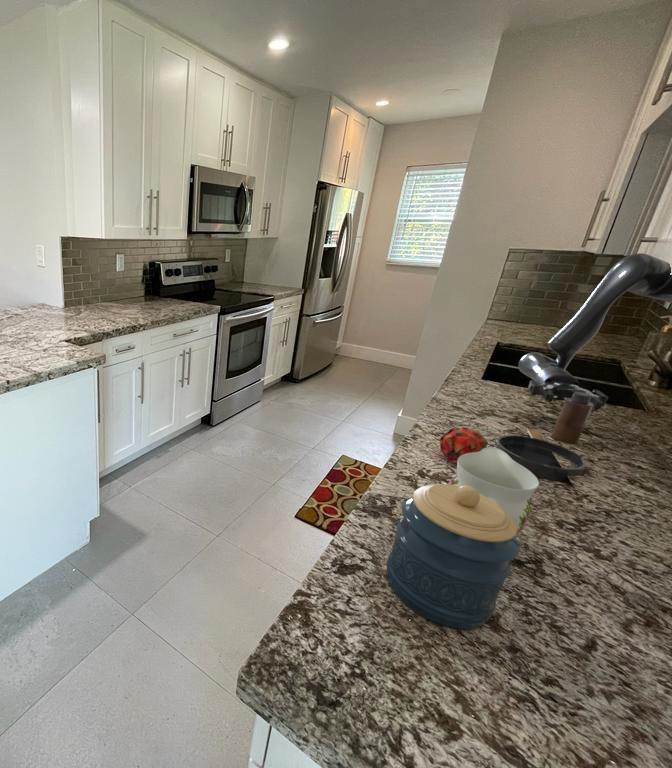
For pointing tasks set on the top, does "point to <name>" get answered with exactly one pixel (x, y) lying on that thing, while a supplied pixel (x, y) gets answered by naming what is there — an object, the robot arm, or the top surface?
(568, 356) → the robot arm
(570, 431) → the pepper mill
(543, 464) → the pan
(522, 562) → the top surface
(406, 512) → the canister
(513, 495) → the pitcher
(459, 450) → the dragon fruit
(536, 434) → the trivet
